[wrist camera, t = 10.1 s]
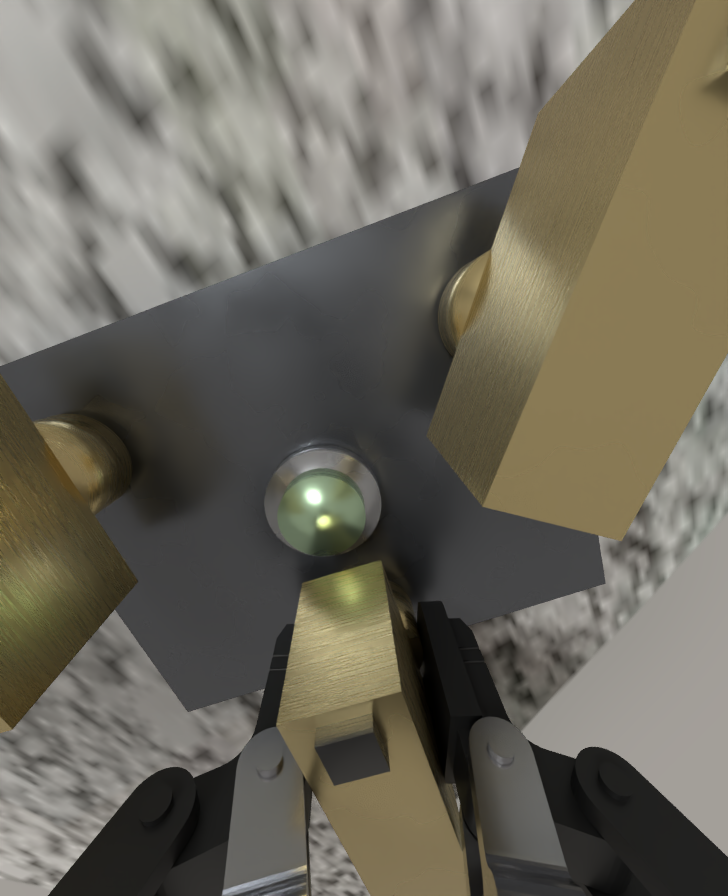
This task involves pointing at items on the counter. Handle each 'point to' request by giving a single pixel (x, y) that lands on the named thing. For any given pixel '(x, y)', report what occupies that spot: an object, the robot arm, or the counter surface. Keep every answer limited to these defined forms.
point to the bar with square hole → (371, 733)
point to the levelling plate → (298, 447)
